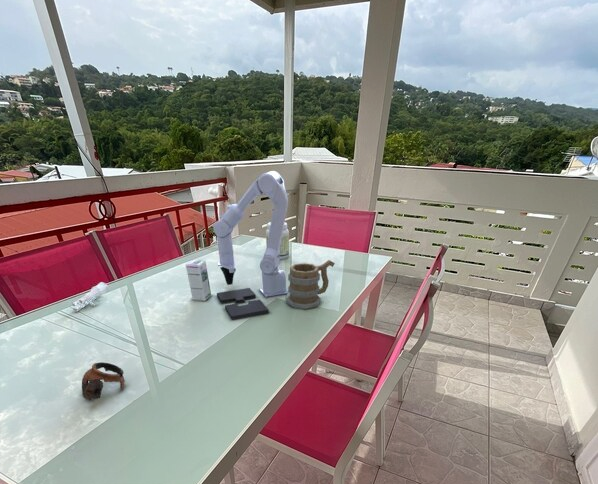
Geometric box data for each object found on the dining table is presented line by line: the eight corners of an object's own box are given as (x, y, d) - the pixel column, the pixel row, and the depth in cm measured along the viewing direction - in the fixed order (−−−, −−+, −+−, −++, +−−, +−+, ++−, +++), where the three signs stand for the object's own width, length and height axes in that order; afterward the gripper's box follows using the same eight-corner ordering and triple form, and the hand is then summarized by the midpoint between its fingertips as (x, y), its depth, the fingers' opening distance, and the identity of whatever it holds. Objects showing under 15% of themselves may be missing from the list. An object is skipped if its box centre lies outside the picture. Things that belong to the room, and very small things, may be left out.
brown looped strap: (86, 384, 88) (94, 356, 86) (123, 394, 91) (132, 368, 89) (66, 404, 77) (75, 373, 75) (109, 415, 80) (119, 385, 78)
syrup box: (205, 301, 131) (199, 265, 123) (191, 299, 132) (185, 263, 124) (211, 295, 136) (206, 260, 127) (198, 294, 137) (192, 259, 128)
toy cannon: (81, 316, 123) (67, 306, 121) (103, 301, 134) (91, 292, 132) (90, 303, 119) (76, 293, 117) (112, 288, 130) (100, 279, 129)
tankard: (296, 311, 125) (297, 272, 116) (282, 299, 134) (281, 262, 125) (340, 301, 132) (344, 264, 124) (324, 290, 142) (326, 255, 133)
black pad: (249, 291, 140) (249, 287, 139) (257, 300, 133) (257, 296, 132) (217, 296, 135) (216, 292, 134) (223, 306, 128) (222, 302, 127)
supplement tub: (266, 253, 184) (265, 221, 174) (288, 252, 185) (288, 220, 176) (267, 260, 174) (265, 226, 164) (290, 259, 175) (290, 226, 166)
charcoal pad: (259, 302, 131) (259, 299, 130) (268, 313, 123) (268, 309, 122) (225, 308, 126) (224, 305, 125) (232, 320, 118) (231, 316, 118)
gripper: (212, 248, 137) (216, 279, 145) (220, 258, 126) (224, 291, 134) (228, 246, 139) (232, 277, 147) (238, 256, 128) (241, 289, 136)
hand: (229, 284), depth 141 cm, fingers closed
